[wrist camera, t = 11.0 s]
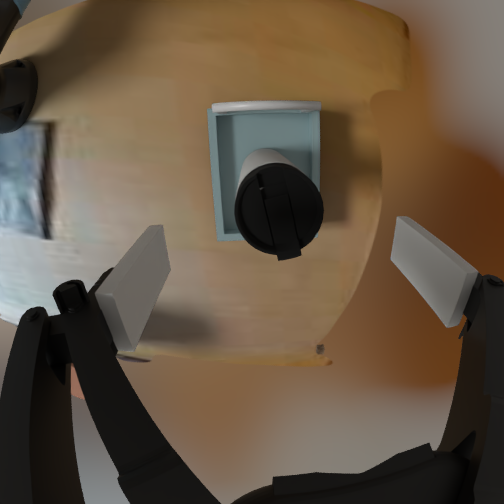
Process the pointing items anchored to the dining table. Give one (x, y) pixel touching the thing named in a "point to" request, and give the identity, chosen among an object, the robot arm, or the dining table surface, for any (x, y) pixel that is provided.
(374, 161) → the dining table surface
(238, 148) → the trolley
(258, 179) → the travel mug
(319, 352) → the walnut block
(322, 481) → the robot arm
